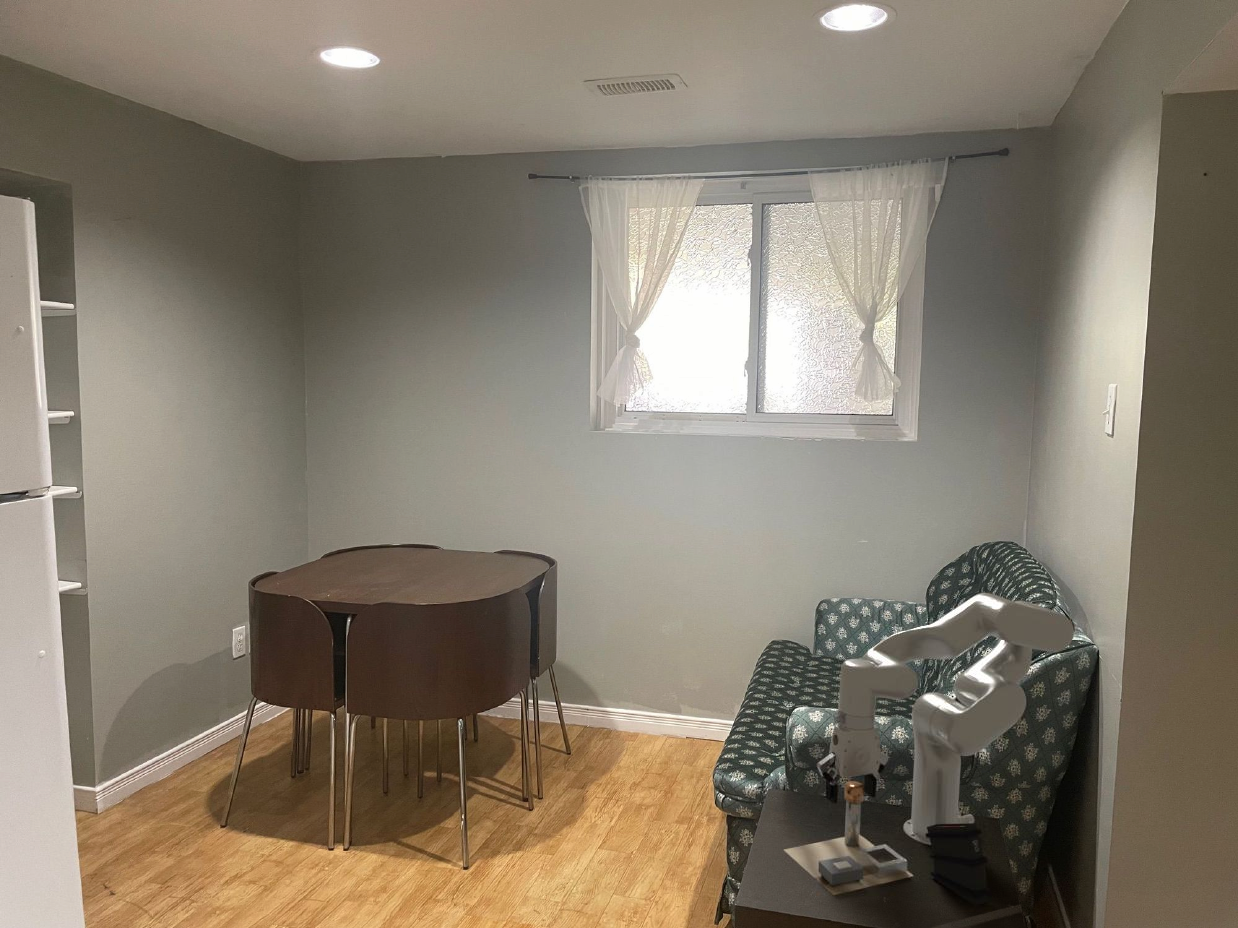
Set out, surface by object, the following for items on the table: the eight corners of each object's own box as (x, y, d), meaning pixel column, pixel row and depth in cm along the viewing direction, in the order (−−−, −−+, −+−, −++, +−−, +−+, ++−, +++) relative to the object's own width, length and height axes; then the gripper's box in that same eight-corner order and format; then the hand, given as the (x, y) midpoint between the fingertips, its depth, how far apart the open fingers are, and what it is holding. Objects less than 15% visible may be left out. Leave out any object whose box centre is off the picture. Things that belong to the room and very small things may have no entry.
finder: (848, 869, 190) (849, 853, 190) (862, 882, 186) (863, 866, 185) (818, 875, 188) (818, 859, 188) (831, 888, 183) (832, 872, 183)
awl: (853, 837, 203) (856, 779, 202) (864, 846, 200) (867, 787, 198) (838, 840, 202) (841, 782, 200) (849, 849, 198) (852, 790, 197)
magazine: (987, 911, 175) (964, 826, 180) (938, 907, 186) (917, 827, 191) (1002, 906, 177) (978, 822, 181) (952, 902, 188) (931, 823, 192)
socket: (884, 855, 196) (885, 843, 196) (906, 872, 190) (907, 860, 189) (856, 861, 193) (857, 850, 193) (878, 879, 187) (878, 867, 187)
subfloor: (858, 837, 205) (858, 833, 205) (913, 880, 189) (913, 875, 188) (783, 854, 198) (783, 849, 198) (833, 899, 181) (833, 894, 181)
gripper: (831, 730, 191) (826, 811, 193) (901, 721, 197) (895, 799, 199) (810, 716, 198) (805, 795, 200) (878, 708, 204) (873, 784, 206)
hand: (850, 797), depth 199 cm, fingers open, 9 cm apart
